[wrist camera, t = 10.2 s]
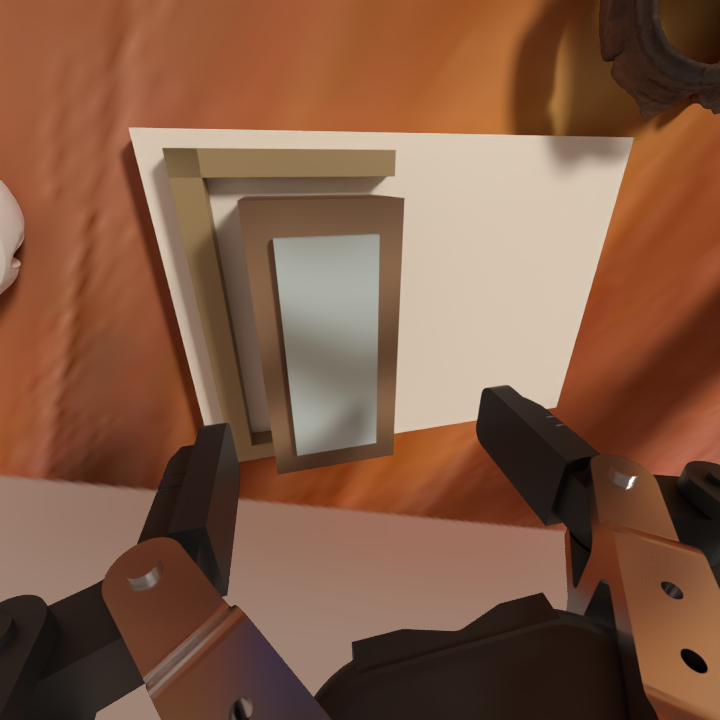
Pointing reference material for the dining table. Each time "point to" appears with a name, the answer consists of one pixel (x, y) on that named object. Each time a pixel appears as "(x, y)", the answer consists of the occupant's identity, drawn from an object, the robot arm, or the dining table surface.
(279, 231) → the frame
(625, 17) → the pottery mug
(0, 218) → the water bottle
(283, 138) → the wall board
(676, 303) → the dining table surface
